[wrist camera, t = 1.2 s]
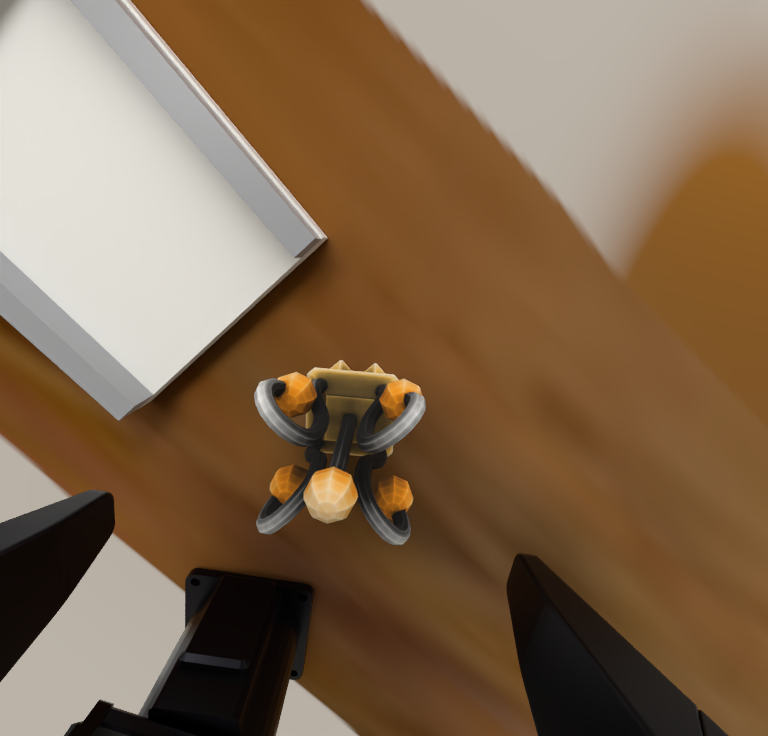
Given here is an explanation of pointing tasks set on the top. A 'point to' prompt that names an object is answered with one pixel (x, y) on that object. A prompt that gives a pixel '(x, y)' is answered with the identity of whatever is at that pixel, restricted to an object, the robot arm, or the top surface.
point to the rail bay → (127, 202)
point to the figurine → (340, 445)
